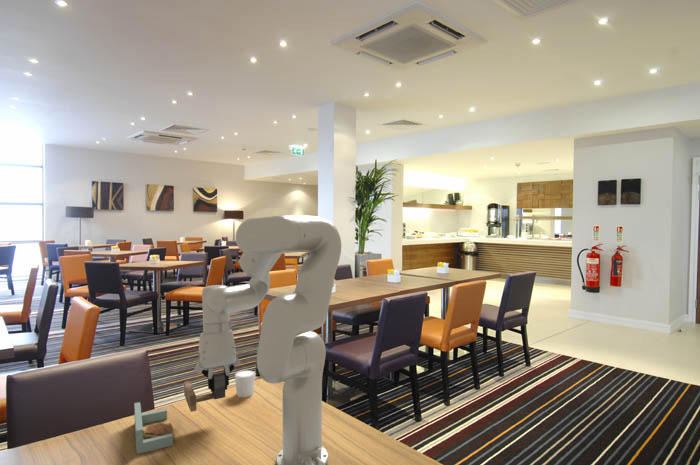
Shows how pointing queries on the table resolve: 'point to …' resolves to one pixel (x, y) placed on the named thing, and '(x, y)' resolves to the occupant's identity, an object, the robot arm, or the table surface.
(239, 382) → the shot glass
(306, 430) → the robot arm
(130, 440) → the table surface
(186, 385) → the wall doorstop
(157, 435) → the shard
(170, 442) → the bracket
